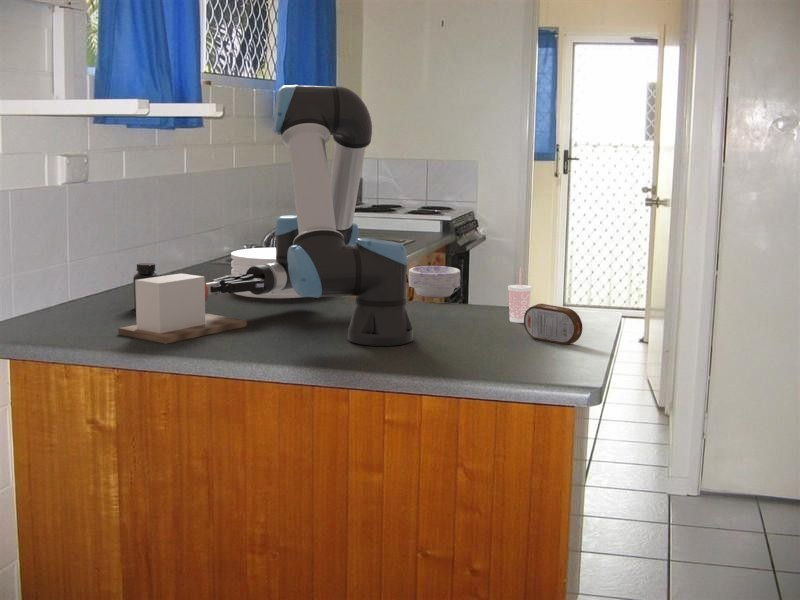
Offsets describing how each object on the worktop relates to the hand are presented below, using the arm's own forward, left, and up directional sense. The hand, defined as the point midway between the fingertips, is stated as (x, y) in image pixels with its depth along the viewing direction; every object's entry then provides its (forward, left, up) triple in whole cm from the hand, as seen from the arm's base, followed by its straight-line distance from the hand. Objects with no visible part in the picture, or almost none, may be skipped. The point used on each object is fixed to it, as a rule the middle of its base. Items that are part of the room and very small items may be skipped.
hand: (198, 290), depth 239 cm
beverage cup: (-23, -77, -9) cm, 81 cm away
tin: (-47, -70, -9) cm, 85 cm away
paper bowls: (+20, -76, -9) cm, 79 cm away
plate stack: (+45, -37, -9) cm, 59 cm away
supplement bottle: (+30, +6, -9) cm, 32 cm away
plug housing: (-4, +8, -7) cm, 12 cm away
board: (-2, +4, -9) cm, 10 cm away
